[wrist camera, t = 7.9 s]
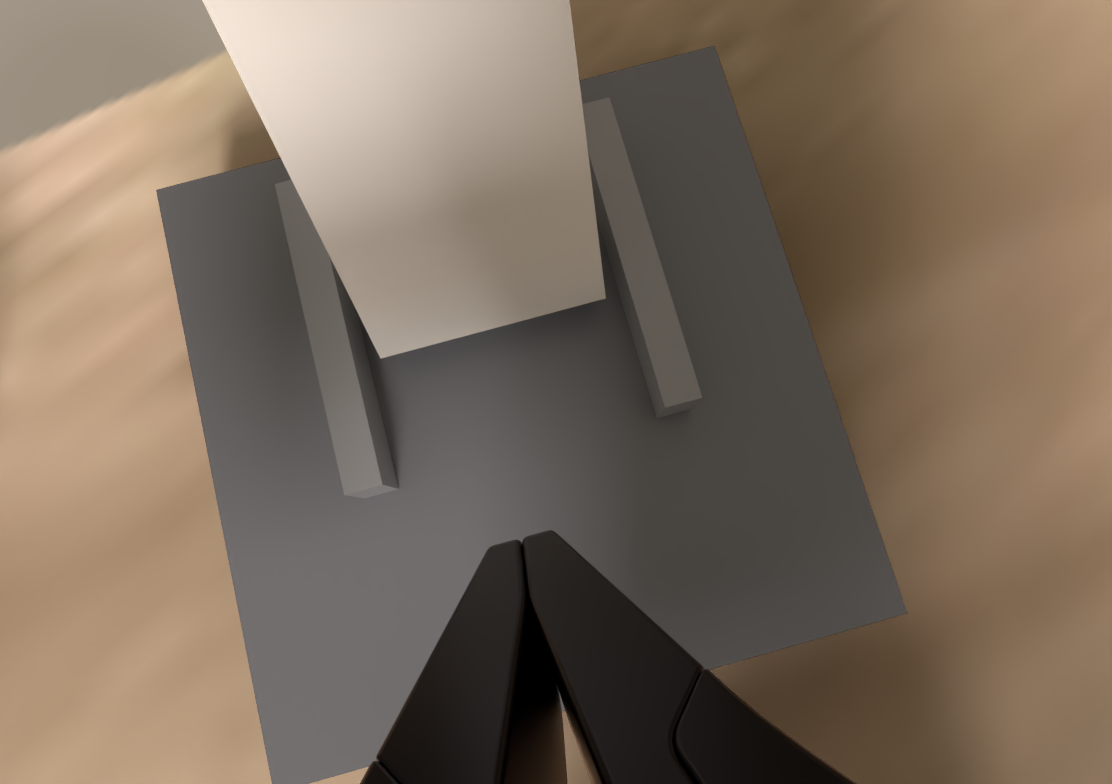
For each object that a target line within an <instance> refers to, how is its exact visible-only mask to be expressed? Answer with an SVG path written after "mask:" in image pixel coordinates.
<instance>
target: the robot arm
mask: <svg viewBox="0 0 1112 784" xmlns="http://www.w3.org/2000/svg"><path fill="white" fill-rule="evenodd" d="M559 693H560V695H559ZM560 696H561V699H562V702H563V705H564V708H565V711H566V714H567V717H568V720H569V723H570V726H571V728H572V731H573V734H574V737H575V739H576V742H577V745H578V747H579V750H580V753H581V756H582V758H583V761H584V764H585V767H586V769H587V772H588V775H589V778H590V780H591V783H592V784H856V783H855V782H853V781H852V780H850V779H849V778H847V777H846V776H844V775H843V774H842V773H840V772H839V771H837V770H836V769H834V768H833V767H831V766H830V765H829V764H827V763H826V762H824V761H823V760H821V759H820V758H818V757H817V756H816V755H814V754H813V753H811V752H810V751H808V750H807V749H805V748H804V747H803V746H801V745H800V744H799V743H797V742H796V741H795V740H793V739H792V738H790V737H789V736H788V735H786V734H785V733H784V732H782V731H781V730H780V729H778V728H777V727H776V726H774V725H773V724H771V723H770V722H769V721H767V720H766V719H765V718H763V717H762V716H761V715H760V714H759V713H757V712H756V711H755V710H754V709H753V708H751V707H750V706H749V705H748V704H747V703H746V702H744V701H743V700H742V699H741V698H740V697H738V696H737V695H736V694H735V693H734V692H732V691H731V690H730V689H729V688H728V687H727V686H726V685H725V684H723V683H722V682H721V681H720V680H719V679H718V678H717V677H716V676H715V675H714V674H712V673H711V672H710V671H709V670H707V669H704V667H703V666H702V665H701V664H700V663H699V662H698V661H697V660H696V659H695V658H694V657H693V656H691V655H690V654H689V653H688V652H687V651H686V650H685V649H684V648H683V647H682V646H680V645H679V644H678V643H677V642H676V641H675V640H674V639H673V638H672V637H671V636H669V635H668V634H667V633H666V632H665V631H664V630H663V629H662V628H661V627H660V626H658V625H657V624H656V623H655V622H654V621H653V620H652V619H651V618H650V617H649V616H647V615H646V614H645V613H644V612H643V611H642V610H641V609H640V608H639V607H638V606H636V605H635V604H634V603H633V602H632V601H631V600H630V599H629V598H628V597H627V596H625V595H624V594H623V593H622V592H621V591H620V590H619V589H618V588H617V587H616V586H614V585H613V584H612V583H611V582H610V581H609V580H608V579H607V578H606V577H605V576H603V575H602V574H601V573H600V572H599V571H598V570H597V569H596V568H595V567H594V566H592V565H591V564H590V563H589V562H588V561H587V560H586V559H585V558H584V557H583V556H581V555H580V554H579V553H578V552H577V551H576V550H575V549H574V548H573V547H572V546H570V545H569V544H568V543H567V542H566V541H565V540H564V539H563V538H562V537H561V536H559V535H558V534H557V533H556V532H554V531H552V530H548V531H545V532H541V533H537V534H533V535H530V536H526V537H525V538H524V539H523V542H522V543H521V541H520V540H517V539H516V540H511V541H507V542H504V543H500V544H496V545H493V546H490V547H489V548H488V550H487V551H486V553H485V555H484V557H483V558H482V560H481V562H480V564H479V566H478V568H477V570H476V571H475V573H474V575H473V577H472V579H471V581H470V583H469V584H468V586H467V588H466V590H465V592H464V594H463V596H462V597H461V599H460V601H459V603H458V605H457V607H456V609H455V610H454V612H453V614H452V616H451V618H450V620H449V622H448V623H447V625H446V627H445V629H444V631H443V633H442V635H441V636H440V638H439V640H438V642H437V644H436V646H435V648H434V650H433V651H432V653H431V655H430V657H429V659H428V661H427V663H426V664H425V666H424V668H423V670H422V672H421V674H420V676H419V677H418V679H417V681H416V683H415V685H414V687H413V689H412V690H411V692H410V694H409V696H408V698H407V700H406V702H405V703H404V705H403V707H402V709H401V711H400V713H399V715H398V716H397V718H396V720H395V722H394V724H393V726H392V728H391V729H390V731H389V733H388V735H387V737H386V739H385V741H384V742H383V744H382V746H381V748H380V750H379V752H378V754H377V755H376V760H377V761H373V762H372V763H371V764H370V766H369V768H368V770H367V772H366V774H365V775H364V777H363V779H362V781H361V783H360V784H567V771H566V757H565V744H564V731H563V718H562V709H561V701H560Z"/></svg>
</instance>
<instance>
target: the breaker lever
mask: <svg viewBox="0 0 1112 784" xmlns="http://www.w3.org/2000/svg"><path fill="white" fill-rule="evenodd" d="M202 1H203V2H204V5H205V7H206V9H207V11H208V13H209V15H210V16H211V19H212V21H213V23H214V25H215V27H216V29H217V31H218V33H219V35H220V37H221V38H222V41H223V43H224V45H225V47H226V49H227V51H228V53H229V55H230V57H231V59H232V61H233V63H234V65H235V67H236V69H237V71H238V73H239V75H240V77H241V79H242V81H243V83H244V85H245V87H246V89H247V91H248V93H249V95H250V97H251V99H252V101H253V103H254V105H255V107H256V109H257V111H258V113H259V115H260V117H261V119H262V121H263V123H264V125H265V127H266V129H267V131H268V133H269V135H270V137H271V139H272V141H273V143H274V146H275V148H276V150H277V152H278V154H279V156H280V158H281V160H282V162H283V164H284V166H285V168H286V170H287V172H288V174H289V176H290V178H291V180H292V182H293V184H294V186H295V188H296V190H297V192H298V194H299V196H300V198H301V200H302V202H303V204H304V206H305V208H306V210H307V212H308V214H309V216H310V218H311V220H312V222H313V224H314V226H315V228H316V230H317V232H318V234H319V236H320V238H321V240H322V242H323V244H324V246H325V248H326V250H327V252H328V254H329V256H330V258H331V260H332V262H333V264H334V266H335V268H336V270H337V272H338V274H339V276H340V278H341V280H342V282H343V284H344V286H345V288H346V290H347V292H348V294H349V296H350V298H351V300H352V302H353V304H354V306H355V308H356V310H357V312H358V314H359V316H360V318H361V320H362V322H363V324H364V327H365V329H366V331H367V333H368V335H369V337H370V339H371V341H372V343H373V345H374V347H375V349H376V351H377V353H378V355H379V357H380V359H381V358H385V357H389V356H392V355H396V354H400V353H404V352H407V351H411V350H415V349H419V348H422V347H426V346H430V345H434V344H437V343H441V342H445V341H449V340H452V339H456V338H460V337H463V336H467V335H471V334H475V333H478V332H482V331H486V330H490V329H493V328H497V327H501V326H505V325H508V324H512V323H516V322H520V321H523V320H527V319H531V318H534V317H538V316H542V315H546V314H549V313H553V312H557V311H561V310H564V309H568V308H572V307H576V306H579V305H583V304H587V303H591V302H594V301H598V300H602V299H605V298H606V295H605V287H604V279H603V271H602V263H601V254H600V246H599V238H598V230H597V221H596V213H595V205H594V197H593V189H592V180H591V172H590V164H589V156H588V148H587V139H586V131H585V123H584V115H583V106H582V98H581V90H580V82H579V74H578V65H577V57H576V49H575V41H574V33H573V24H572V16H571V8H570V0H202Z"/></svg>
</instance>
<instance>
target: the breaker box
mask: <svg viewBox="0 0 1112 784" xmlns="http://www.w3.org/2000/svg"><path fill="white" fill-rule="evenodd" d="M579 82H580V90H581V98H582V106H583V115H584V123H585V131H586V139H587V148H588V156H589V164H590V172H591V180H592V189H593V197H594V205H595V213H596V221H597V230H598V238H599V246H600V254H601V263H602V271H603V279H604V287H605V295H606V298H605V299H602V300H598V301H594V302H591V303H587V304H583V305H579V306H576V307H572V308H568V309H564V310H561V311H557V312H553V313H549V314H546V315H542V316H538V317H534V318H531V319H527V320H523V321H520V322H516V323H512V324H508V325H505V326H501V327H497V328H493V329H490V330H486V331H482V332H478V333H475V334H471V335H467V336H463V337H460V338H456V339H452V340H449V341H445V342H441V343H437V344H434V345H430V346H426V347H422V348H419V349H415V350H411V351H407V352H404V353H400V354H396V355H392V356H389V357H385V358H381V359H380V357H379V355H378V353H377V351H376V349H375V347H374V345H373V343H372V341H371V339H370V337H369V335H368V333H367V331H366V329H365V327H364V324H363V322H362V320H361V318H360V316H359V314H358V312H357V310H356V308H355V306H354V304H353V302H352V300H351V298H350V296H349V294H348V292H347V290H346V288H345V286H344V284H343V282H342V280H341V278H340V276H339V274H338V272H337V270H336V268H335V266H334V264H333V262H332V260H331V258H330V256H329V254H328V252H327V250H326V248H325V246H324V244H323V242H322V240H321V238H320V236H319V234H318V232H317V230H316V228H315V226H314V224H313V222H312V220H311V218H310V216H309V214H308V212H307V210H306V208H305V206H304V204H303V202H302V200H301V198H300V196H299V194H298V192H297V190H296V188H295V186H294V184H293V182H292V180H291V178H290V176H289V174H288V172H287V170H286V168H285V166H284V164H283V162H282V160H281V158H278V159H274V160H270V161H266V162H263V163H259V164H255V165H251V166H247V167H243V168H239V169H235V170H232V171H228V172H224V173H220V174H216V175H212V176H208V177H204V178H201V179H197V180H193V181H189V182H185V183H181V184H177V185H174V186H170V187H166V188H162V189H158V190H156V191H157V196H158V201H159V206H160V212H161V217H162V222H163V227H164V232H165V237H166V242H167V247H168V252H169V258H170V263H171V268H172V273H173V278H174V283H175V288H176V293H177V299H178V304H179V309H180V314H181V319H182V324H183V329H184V334H185V340H186V345H187V350H188V355H189V360H190V365H191V370H192V375H193V380H194V386H195V391H196V396H197V401H198V406H199V411H200V416H201V421H202V427H203V432H204V437H205V442H206V447H207V452H208V457H209V462H210V468H211V473H212V478H213V483H214V488H215V493H216V498H217V503H218V509H219V514H220V519H221V524H222V529H223V534H224V539H225V544H226V549H227V555H228V560H229V565H230V570H231V575H232V580H233V585H234V590H235V596H236V601H237V606H238V611H239V616H240V621H241V626H242V631H243V637H244V642H245V647H246V652H247V657H248V662H249V667H250V672H251V677H252V683H253V688H254V693H255V698H256V703H257V708H258V713H259V718H260V724H261V729H262V734H263V739H264V744H265V749H266V754H267V759H268V765H269V770H270V775H271V780H272V784H309V783H312V782H316V781H319V780H323V779H326V778H330V777H333V776H337V775H340V774H344V773H347V772H351V771H354V770H358V769H362V768H365V767H369V766H370V764H371V763H372V762H373V761H377V760H376V755H377V754H378V752H379V750H380V748H381V746H382V744H383V742H384V741H385V739H386V737H387V735H388V733H389V731H390V729H391V728H392V726H393V724H394V722H395V720H396V718H397V716H398V715H399V713H400V711H401V709H402V707H403V705H404V703H405V702H406V700H407V698H408V696H409V694H410V692H411V690H412V689H413V687H414V685H415V683H416V681H417V679H418V677H419V676H420V674H421V672H422V670H423V668H424V666H425V664H426V663H427V661H428V659H429V657H430V655H431V653H432V651H433V650H434V648H435V646H436V644H437V642H438V640H439V638H440V636H441V635H442V633H443V631H444V629H445V627H446V625H447V623H448V622H449V620H450V618H451V616H452V614H453V612H454V610H455V609H456V607H457V605H458V603H459V601H460V599H461V597H462V596H463V594H464V592H465V590H466V588H467V586H468V584H469V583H470V581H471V579H472V577H473V575H474V573H475V571H476V570H477V568H478V566H479V564H480V562H481V560H482V558H483V557H484V555H485V553H486V551H487V550H488V548H489V547H490V546H493V545H496V544H500V543H504V542H507V541H511V540H516V539H517V540H520V541H521V543H522V542H523V539H524V538H525V537H526V536H530V535H533V534H537V533H541V532H545V531H548V530H552V531H554V532H556V533H557V534H558V535H559V536H561V537H562V538H563V539H564V540H565V541H566V542H567V543H568V544H569V545H570V546H572V547H573V548H574V549H575V550H576V551H577V552H578V553H579V554H580V555H581V556H583V557H584V558H585V559H586V560H587V561H588V562H589V563H590V564H591V565H592V566H594V567H595V568H596V569H597V570H598V571H599V572H600V573H601V574H602V575H603V576H605V577H606V578H607V579H608V580H609V581H610V582H611V583H612V584H613V585H614V586H616V587H617V588H618V589H619V590H620V591H621V592H622V593H623V594H624V595H625V596H627V597H628V598H629V599H630V600H631V601H632V602H633V603H634V604H635V605H636V606H638V607H639V608H640V609H641V610H642V611H643V612H644V613H645V614H646V615H647V616H649V617H650V618H651V619H652V620H653V621H654V622H655V623H656V624H657V625H658V626H660V627H661V628H662V629H663V630H664V631H665V632H666V633H667V634H668V635H669V636H671V637H672V638H673V639H674V640H675V641H676V642H677V643H678V644H679V645H680V646H682V647H683V648H684V649H685V650H686V651H687V652H688V653H689V654H690V655H691V656H693V657H694V658H695V659H696V660H697V661H698V662H699V663H700V664H701V665H702V666H703V667H704V669H707V670H710V669H713V668H717V667H720V666H724V665H727V664H731V663H735V662H738V661H742V660H745V659H749V658H752V657H756V656H759V655H763V654H766V653H770V652H773V651H777V650H780V649H784V648H787V647H791V646H794V645H798V644H801V643H805V642H808V641H812V640H815V639H819V638H822V637H826V636H830V635H833V634H837V633H840V632H844V631H847V630H851V629H854V628H858V627H861V626H865V625H868V624H872V623H875V622H879V621H882V620H886V619H889V618H893V617H896V616H900V615H903V614H907V611H906V608H905V605H904V602H903V599H902V596H901V593H900V590H899V588H898V585H897V582H896V579H895V576H894V573H893V570H892V567H891V564H890V561H889V558H888V555H887V552H886V549H885V546H884V543H883V540H882V537H881V535H880V532H879V529H878V526H877V523H876V520H875V517H874V514H873V511H872V508H871V505H870V502H869V499H868V496H867V493H866V490H865V487H864V484H863V481H862V479H861V476H860V473H859V470H858V467H857V464H856V461H855V458H854V455H853V452H852V449H851V446H850V443H849V440H848V437H847V434H846V431H845V428H844V425H843V423H842V420H841V417H840V414H839V411H838V408H837V405H836V402H835V399H834V396H833V393H832V390H831V387H830V384H829V381H828V378H827V375H826V372H825V370H824V367H823V364H822V361H821V358H820V355H819V352H818V349H817V346H816V343H815V340H814V337H813V334H812V331H811V328H810V325H809V322H808V319H807V316H806V314H805V311H804V308H803V305H802V302H801V299H800V296H799V293H798V290H797V287H796V284H795V281H794V278H793V275H792V272H791V269H790V266H789V263H788V261H787V258H786V255H785V252H784V249H783V246H782V243H781V240H780V237H779V234H778V231H777V228H776V225H775V222H774V219H773V216H772V213H771V210H770V207H769V205H768V202H767V199H766V196H765V193H764V190H763V187H762V184H761V181H760V178H759V175H758V172H757V169H756V166H755V163H754V160H753V157H752V154H751V151H750V149H749V146H748V143H747V140H746V137H745V134H744V131H743V128H742V125H741V122H740V119H739V116H738V113H737V110H736V107H735V104H734V101H733V98H732V96H731V93H730V90H729V87H728V84H727V81H726V78H725V75H724V72H723V69H722V66H721V63H720V60H719V57H718V54H717V51H716V48H715V46H712V47H708V48H704V49H700V50H696V51H692V52H688V53H684V54H681V55H677V56H673V57H669V58H665V59H661V60H657V61H654V62H650V63H646V64H642V65H638V66H634V67H630V68H626V69H623V70H619V71H615V72H611V73H607V74H603V75H599V76H595V77H592V78H588V79H584V80H580V81H579ZM559 695H560V693H559ZM560 701H561V709H562V711H565V708H564V705H563V702H562V699H561V696H560Z"/></svg>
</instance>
